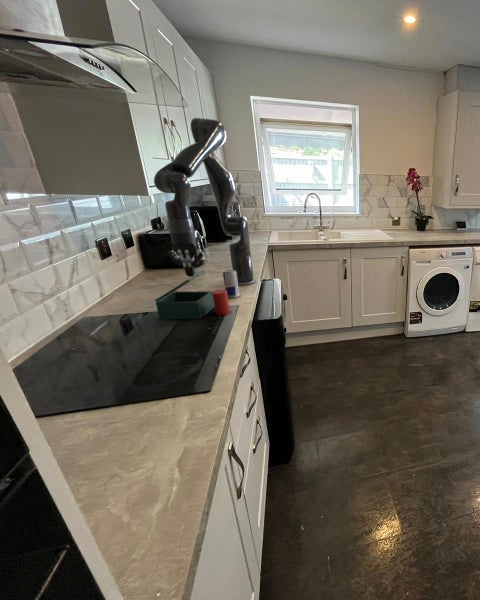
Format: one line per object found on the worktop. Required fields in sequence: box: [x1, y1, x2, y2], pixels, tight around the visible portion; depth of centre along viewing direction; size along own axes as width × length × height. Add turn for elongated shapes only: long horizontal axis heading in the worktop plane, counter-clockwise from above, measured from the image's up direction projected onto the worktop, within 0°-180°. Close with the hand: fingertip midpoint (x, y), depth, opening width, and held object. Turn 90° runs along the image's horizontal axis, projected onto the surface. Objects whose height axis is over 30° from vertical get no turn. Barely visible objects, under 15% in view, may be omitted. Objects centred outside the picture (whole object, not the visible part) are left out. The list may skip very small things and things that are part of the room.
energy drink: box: [222, 269, 240, 299], centre depth 145 cm, size 5×5×12 cm
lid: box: [154, 270, 206, 303], centre depth 124 cm, size 16×13×1 cm
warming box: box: [155, 290, 215, 320], centre depth 127 cm, size 15×13×7 cm
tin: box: [211, 289, 231, 316], centre depth 128 cm, size 5×5×9 cm
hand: (190, 276), depth 123 cm, fingers closed
